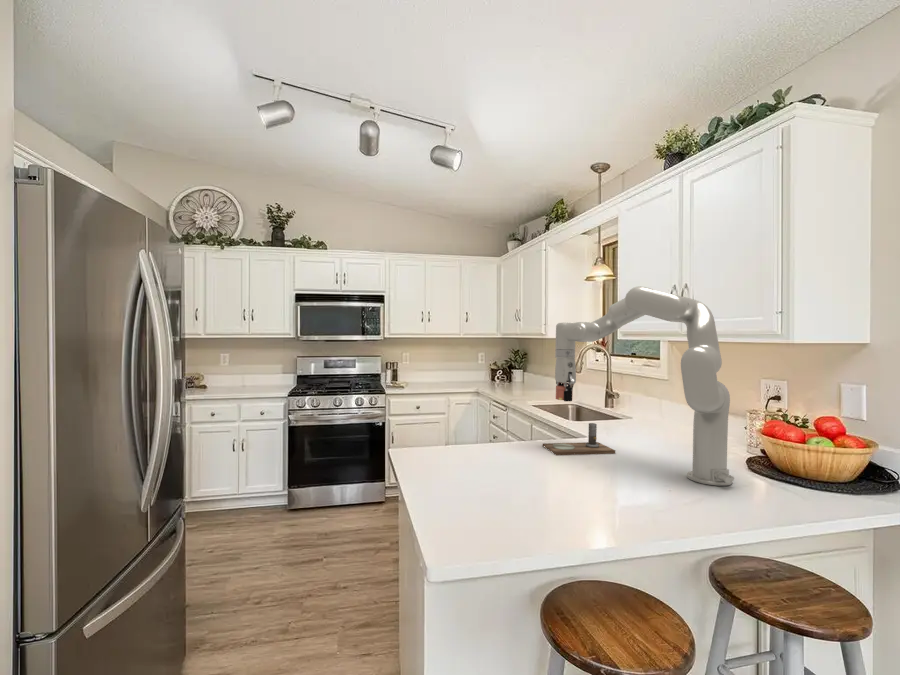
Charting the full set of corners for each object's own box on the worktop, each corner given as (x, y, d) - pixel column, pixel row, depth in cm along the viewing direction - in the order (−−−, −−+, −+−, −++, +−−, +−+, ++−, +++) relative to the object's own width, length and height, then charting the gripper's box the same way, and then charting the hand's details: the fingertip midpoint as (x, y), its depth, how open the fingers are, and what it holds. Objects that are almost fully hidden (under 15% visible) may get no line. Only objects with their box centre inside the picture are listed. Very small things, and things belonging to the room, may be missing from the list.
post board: (615, 453, 179) (615, 427, 179) (556, 455, 174) (556, 428, 174) (597, 445, 192) (598, 420, 192) (542, 446, 188) (543, 421, 188)
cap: (568, 401, 177) (568, 388, 177) (552, 399, 181) (552, 386, 181) (575, 399, 184) (575, 386, 184) (559, 397, 188) (560, 385, 187)
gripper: (584, 355, 174) (582, 403, 175) (565, 353, 191) (563, 396, 192) (565, 355, 173) (564, 403, 173) (547, 353, 190) (546, 396, 190)
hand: (564, 399), depth 182 cm, fingers closed on cap, 6 cm apart
